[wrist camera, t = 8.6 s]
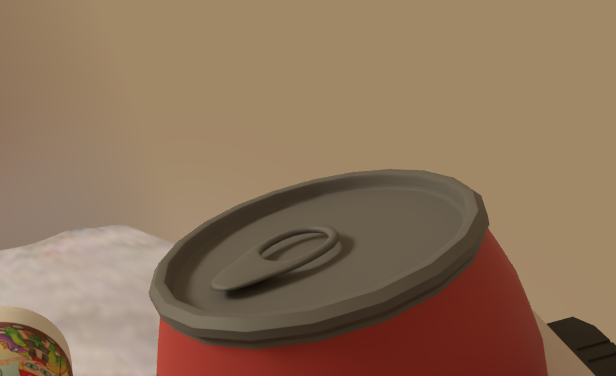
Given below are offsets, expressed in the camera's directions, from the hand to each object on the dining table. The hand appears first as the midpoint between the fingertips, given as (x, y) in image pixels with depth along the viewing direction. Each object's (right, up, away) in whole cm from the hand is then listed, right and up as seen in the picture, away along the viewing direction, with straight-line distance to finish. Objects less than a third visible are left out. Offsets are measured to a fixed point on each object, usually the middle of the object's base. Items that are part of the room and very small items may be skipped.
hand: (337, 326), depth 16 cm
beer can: (+2, -8, -3) cm, 9 cm away
